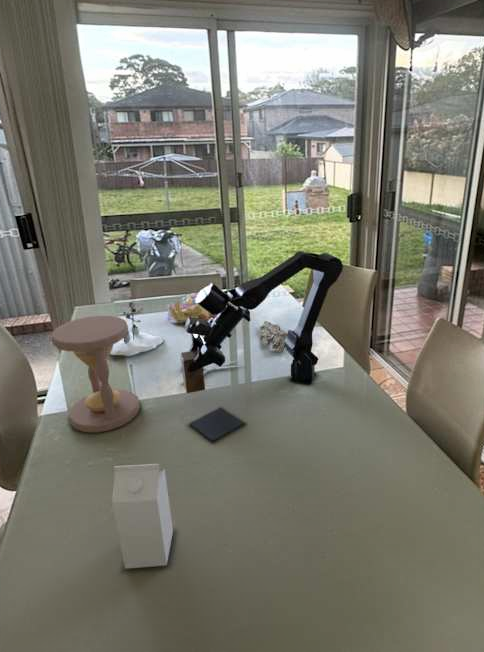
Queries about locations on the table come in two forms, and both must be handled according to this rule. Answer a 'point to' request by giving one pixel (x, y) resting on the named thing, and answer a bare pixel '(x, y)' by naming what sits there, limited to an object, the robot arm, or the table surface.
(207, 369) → the scissors
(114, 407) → the hourglass
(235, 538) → the table surface
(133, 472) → the milk carton
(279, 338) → the pale grey lumpy piece
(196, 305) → the yellow pink lumpy heap
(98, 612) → the table surface
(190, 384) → the walnut block
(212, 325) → the robot arm
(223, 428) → the coaster mat
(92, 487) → the table surface
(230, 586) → the table surface
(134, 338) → the figurine
